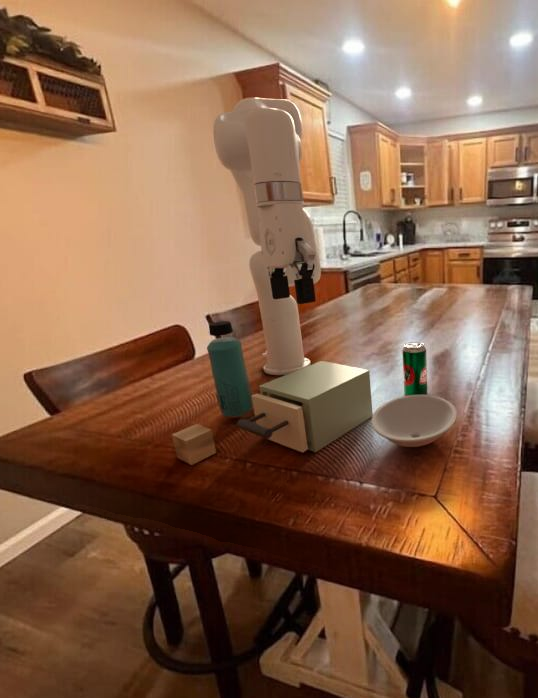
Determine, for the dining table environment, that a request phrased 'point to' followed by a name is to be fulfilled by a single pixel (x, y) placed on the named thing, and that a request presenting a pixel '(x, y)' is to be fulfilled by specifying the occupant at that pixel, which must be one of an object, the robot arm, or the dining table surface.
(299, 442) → the drawer
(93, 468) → the dining table surface
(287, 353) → the robot arm
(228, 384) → the beverage bottle
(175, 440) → the block
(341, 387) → the cabinet
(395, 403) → the dish
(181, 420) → the dining table surface
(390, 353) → the dining table surface
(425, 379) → the soda can
